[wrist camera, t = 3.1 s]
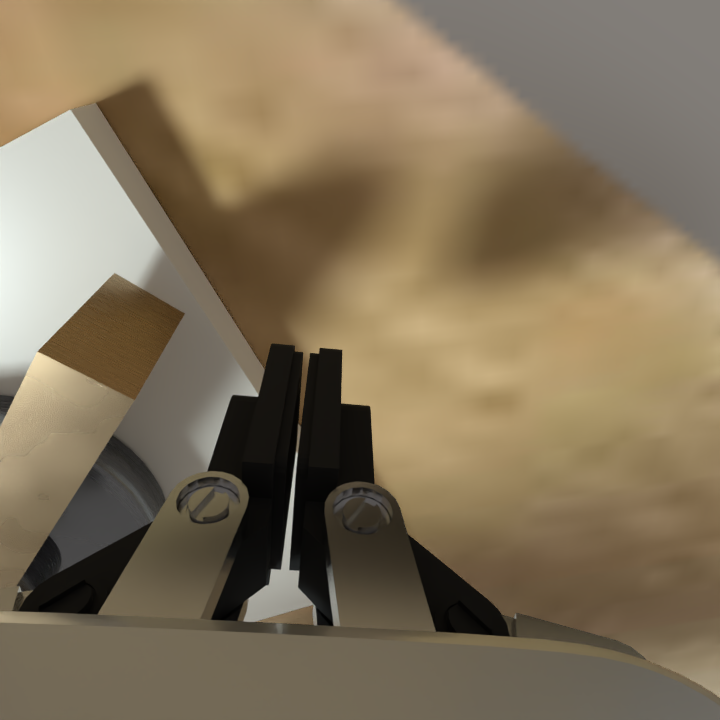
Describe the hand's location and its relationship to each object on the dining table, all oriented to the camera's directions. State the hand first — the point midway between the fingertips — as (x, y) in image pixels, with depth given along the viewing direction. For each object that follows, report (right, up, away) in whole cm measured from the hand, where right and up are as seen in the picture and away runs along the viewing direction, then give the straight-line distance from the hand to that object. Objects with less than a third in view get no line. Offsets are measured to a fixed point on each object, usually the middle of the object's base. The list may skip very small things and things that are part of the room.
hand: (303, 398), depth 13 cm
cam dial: (-9, -2, +5) cm, 11 cm away
